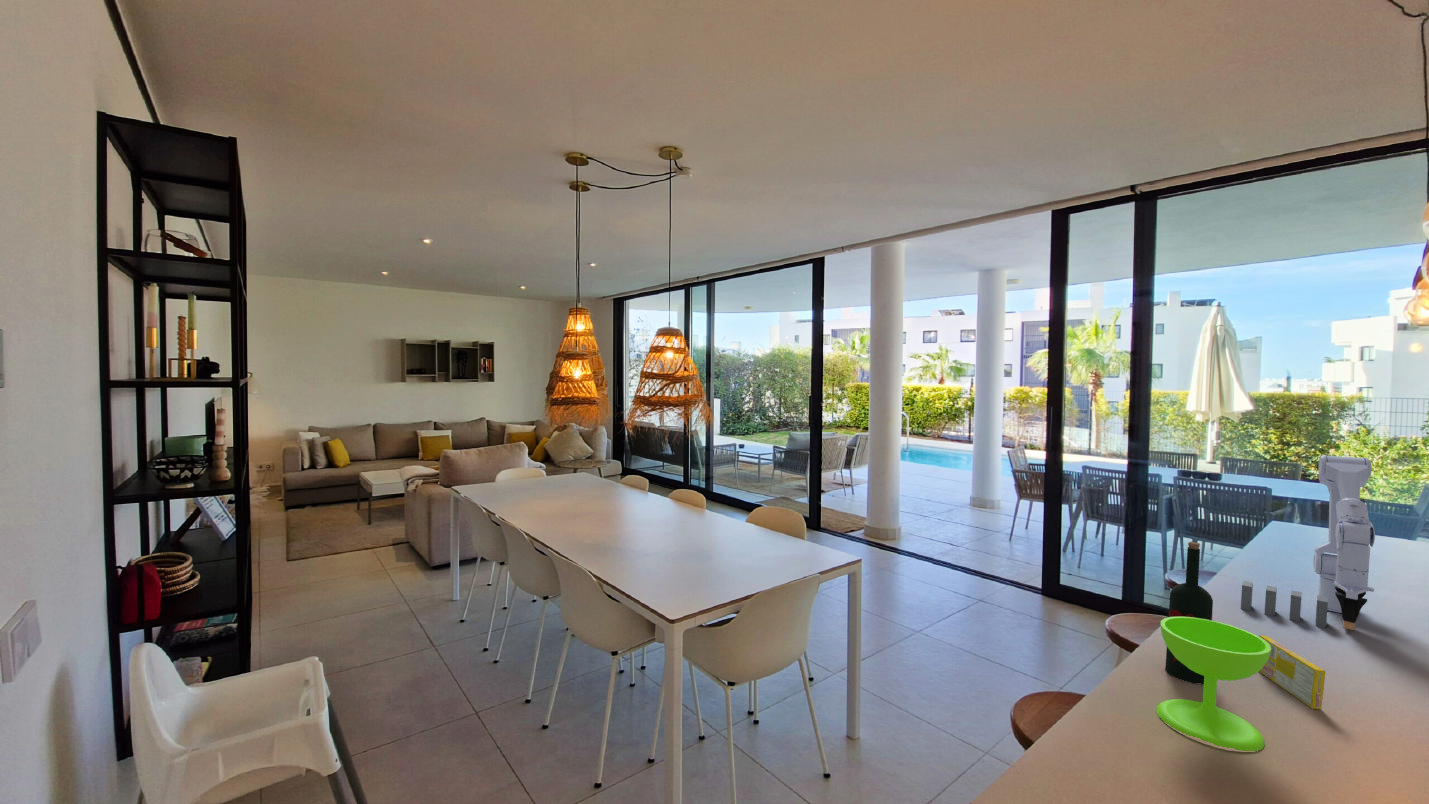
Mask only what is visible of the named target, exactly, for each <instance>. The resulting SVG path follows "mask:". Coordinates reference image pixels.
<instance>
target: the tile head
mask: <svg viewBox="0 0 1429 804" xmlns="http://www.w3.org/2000/svg"><path fill="white" fill-rule="evenodd" d="M1342 625H1343V629H1347V630H1351V631H1355V630H1356V629H1355V628H1356V622H1355V623H1352V622H1348V621H1344V620H1343V619H1342Z"/></svg>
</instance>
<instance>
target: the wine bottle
mask: <svg viewBox="0 0 1429 804" xmlns="http://www.w3.org/2000/svg"><path fill="white" fill-rule="evenodd" d="M1200 543H1201V542H1195V541H1189V542H1188V547H1187V549H1186V550H1187V551H1186V570H1185V582H1183V583H1178V584H1176V585H1175V586H1173V587H1172V588H1171V589H1170V593H1169V601H1168V602H1169V606H1168V617H1180V616H1181V617H1194V618H1201V619H1207V620H1212V621H1213V608H1214V606H1213V605H1214V599H1213V597H1212V595H1211V594H1210V592H1209V591H1207V590H1206V589H1205V588H1203V586H1200V585H1199V577H1200V575H1199V573H1200V558H1201V557H1200V556H1201V549H1200V546H1201V544H1200ZM1165 655H1166V656H1165V669H1164V671H1165V672H1166V673H1167V675H1169V676H1171V677H1173V678H1176V679H1177V678H1178V680H1180V679H1181V680H1180V681H1183V680H1184V681H1183V682H1186V681H1187V683H1190V682H1191V684H1196V683H1201V684H1200V685H1204V676H1203V675H1201V674H1198V673H1196V672H1194V671H1192V670H1190V669H1189V668H1188V667H1186V666H1185V665H1184V664H1183V663H1181V662H1180V661H1179V660H1177V659H1176V658H1175V656H1174V655H1173V654H1172V652H1171V651H1170V650H1169V649H1168V647H1167V646H1166V653H1165Z"/></svg>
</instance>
